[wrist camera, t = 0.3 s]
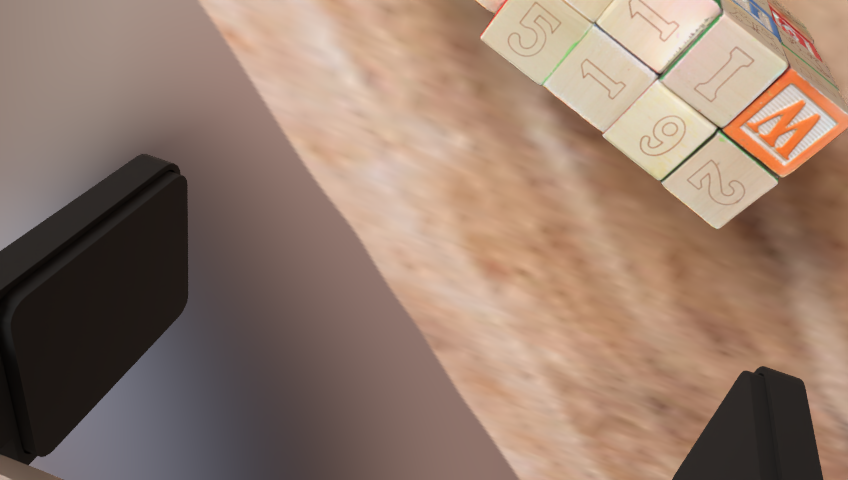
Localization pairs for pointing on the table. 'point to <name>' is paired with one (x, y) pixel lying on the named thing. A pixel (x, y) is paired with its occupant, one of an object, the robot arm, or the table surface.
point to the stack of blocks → (683, 87)
